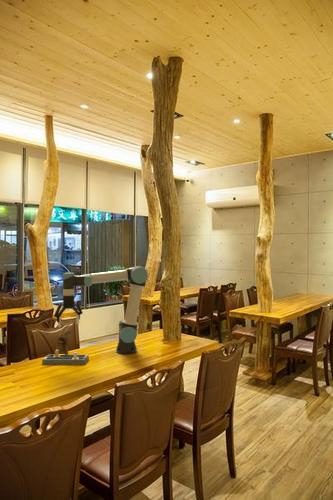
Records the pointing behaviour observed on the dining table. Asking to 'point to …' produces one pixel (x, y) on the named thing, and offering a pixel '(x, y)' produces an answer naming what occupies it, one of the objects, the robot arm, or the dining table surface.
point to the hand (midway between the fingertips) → (68, 325)
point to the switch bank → (65, 359)
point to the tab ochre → (57, 353)
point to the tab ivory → (75, 355)
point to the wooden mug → (63, 343)
